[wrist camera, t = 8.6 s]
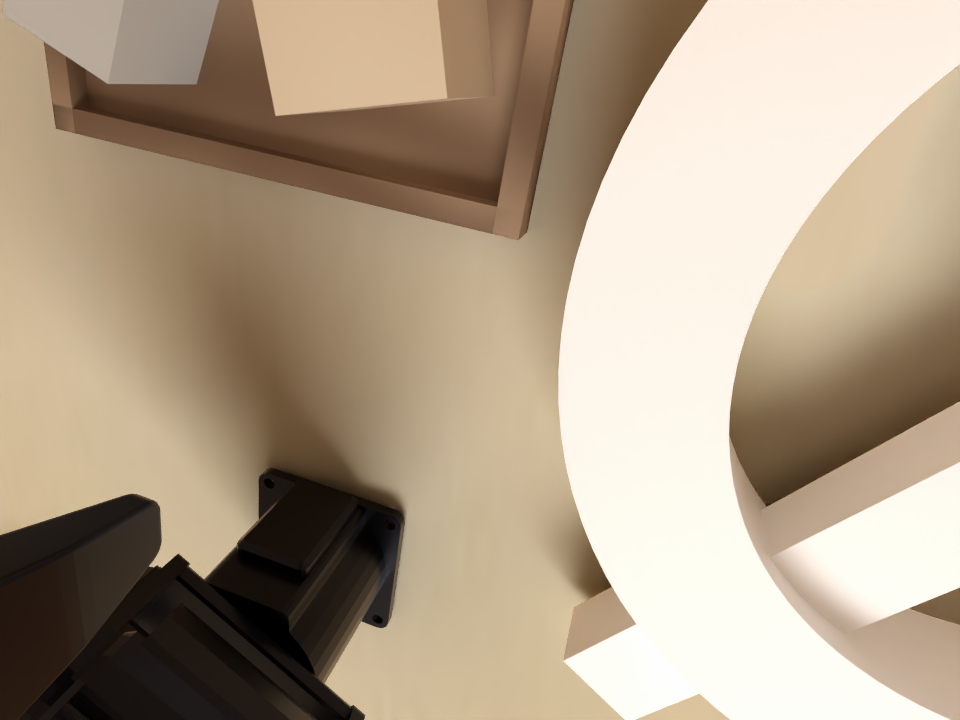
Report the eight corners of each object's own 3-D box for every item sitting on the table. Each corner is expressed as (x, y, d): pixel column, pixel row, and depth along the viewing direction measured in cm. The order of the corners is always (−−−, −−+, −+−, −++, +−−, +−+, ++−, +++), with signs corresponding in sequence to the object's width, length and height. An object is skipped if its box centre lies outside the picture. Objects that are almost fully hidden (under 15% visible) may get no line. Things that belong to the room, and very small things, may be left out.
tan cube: (493, 96, 17) (447, 98, 14) (351, 110, 19) (275, 115, 15) (481, -73, 16) (425, -119, 12) (326, -44, 17) (237, -78, 14)
